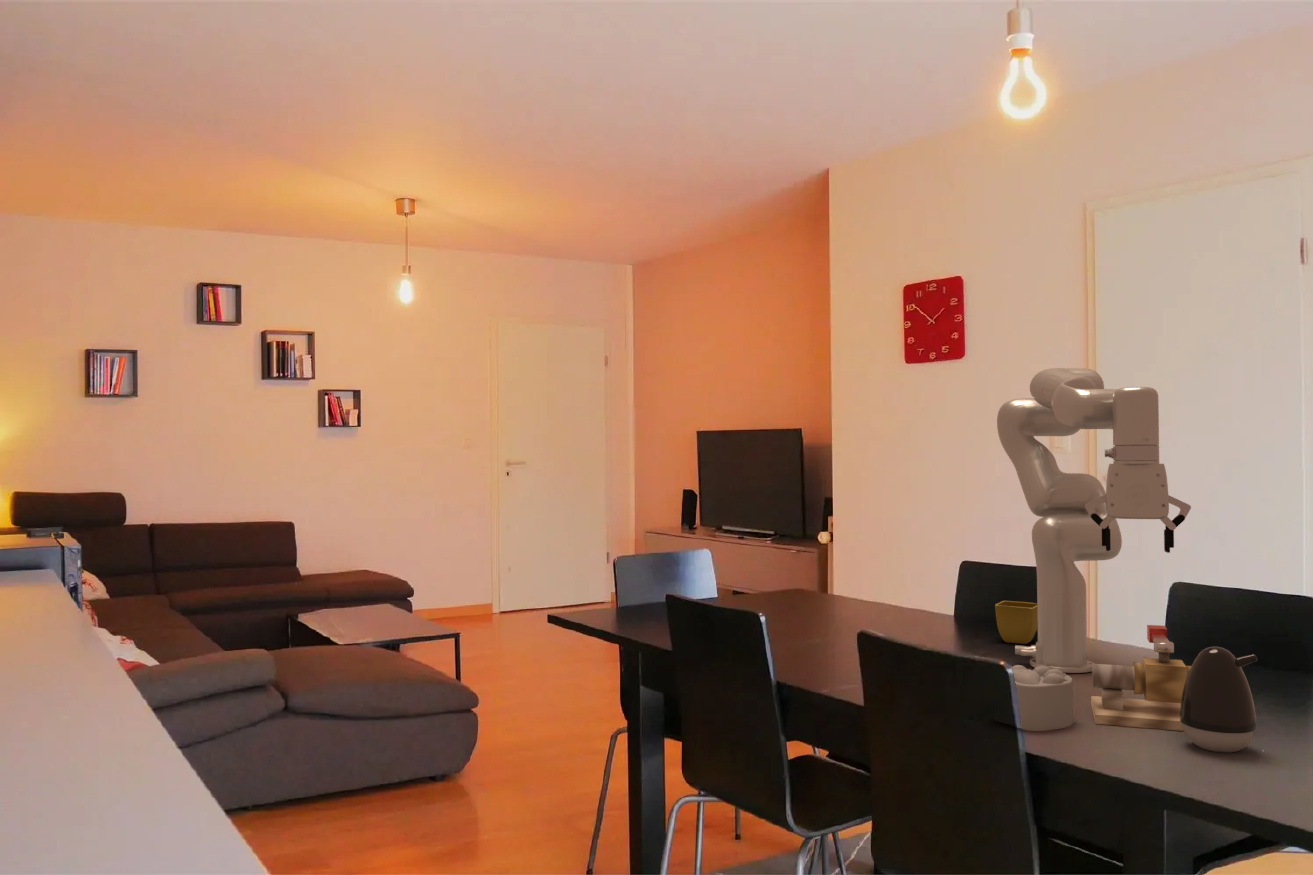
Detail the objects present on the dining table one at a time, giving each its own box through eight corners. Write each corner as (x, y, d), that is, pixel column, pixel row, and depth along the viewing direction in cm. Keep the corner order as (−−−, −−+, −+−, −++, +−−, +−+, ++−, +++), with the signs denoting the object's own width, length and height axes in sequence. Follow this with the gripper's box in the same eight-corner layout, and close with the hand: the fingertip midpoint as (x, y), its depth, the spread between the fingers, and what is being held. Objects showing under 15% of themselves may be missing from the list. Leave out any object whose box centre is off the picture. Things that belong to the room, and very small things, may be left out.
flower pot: (1041, 641, 245) (1041, 603, 245) (1033, 646, 238) (1033, 607, 238) (1003, 637, 250) (1003, 600, 250) (994, 643, 242) (994, 604, 243)
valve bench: (1095, 723, 170) (1094, 656, 170) (1091, 704, 183) (1090, 641, 183) (1247, 735, 162) (1246, 665, 162) (1231, 714, 175) (1230, 649, 176)
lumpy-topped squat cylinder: (984, 718, 174) (984, 666, 174) (1041, 709, 179) (1040, 659, 180) (1032, 733, 164) (1032, 678, 165) (1090, 723, 170) (1089, 670, 170)
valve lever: (1174, 653, 171) (1174, 638, 171) (1154, 652, 172) (1154, 637, 172) (1165, 639, 184) (1165, 625, 184) (1146, 638, 185) (1146, 624, 185)
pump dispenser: (1263, 760, 149) (1262, 655, 149) (1182, 752, 153) (1181, 650, 153) (1253, 742, 159) (1252, 643, 159) (1177, 735, 163) (1176, 638, 163)
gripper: (1084, 456, 186) (1085, 551, 185) (1192, 455, 179) (1193, 554, 179) (1084, 456, 193) (1085, 548, 192) (1187, 455, 186) (1189, 551, 186)
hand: (1137, 551), depth 185 cm, fingers open, 9 cm apart
